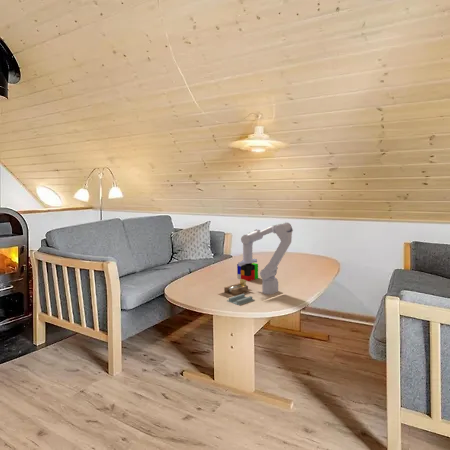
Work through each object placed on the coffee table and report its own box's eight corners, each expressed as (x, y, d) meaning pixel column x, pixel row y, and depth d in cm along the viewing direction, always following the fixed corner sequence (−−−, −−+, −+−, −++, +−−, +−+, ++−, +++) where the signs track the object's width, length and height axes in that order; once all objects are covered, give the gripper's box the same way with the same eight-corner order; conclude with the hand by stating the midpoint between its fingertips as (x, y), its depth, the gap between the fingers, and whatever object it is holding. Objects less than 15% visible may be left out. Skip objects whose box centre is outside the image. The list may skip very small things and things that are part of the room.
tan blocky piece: (241, 288, 226) (241, 279, 225) (246, 289, 223) (246, 280, 222) (238, 289, 224) (238, 279, 223) (242, 290, 221) (242, 281, 220)
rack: (242, 297, 212) (242, 293, 212) (254, 301, 205) (254, 297, 205) (226, 302, 205) (226, 297, 204) (239, 306, 197) (239, 302, 197)
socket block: (241, 288, 230) (241, 282, 229) (252, 291, 223) (252, 285, 222) (217, 295, 216) (217, 288, 216) (227, 299, 210) (227, 292, 209)
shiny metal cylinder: (237, 289, 223) (238, 284, 223) (241, 291, 221) (242, 286, 220) (228, 292, 218) (228, 286, 217) (232, 294, 216) (232, 289, 215)
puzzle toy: (237, 278, 252) (237, 264, 251) (247, 275, 259) (247, 261, 258) (247, 281, 245) (247, 266, 244) (258, 278, 252) (258, 263, 251)
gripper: (251, 251, 232) (251, 272, 234) (234, 254, 222) (234, 276, 224) (259, 252, 227) (259, 274, 228) (242, 256, 217) (242, 278, 219)
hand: (247, 275), depth 226 cm, fingers closed
